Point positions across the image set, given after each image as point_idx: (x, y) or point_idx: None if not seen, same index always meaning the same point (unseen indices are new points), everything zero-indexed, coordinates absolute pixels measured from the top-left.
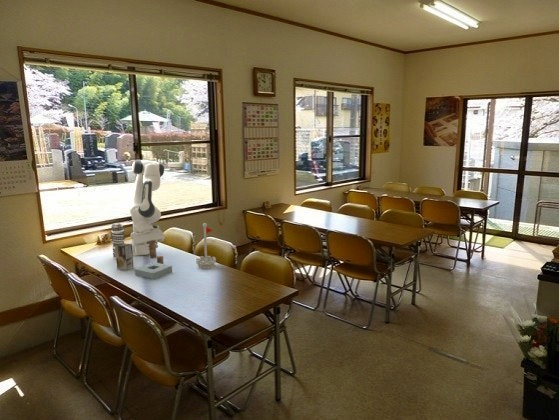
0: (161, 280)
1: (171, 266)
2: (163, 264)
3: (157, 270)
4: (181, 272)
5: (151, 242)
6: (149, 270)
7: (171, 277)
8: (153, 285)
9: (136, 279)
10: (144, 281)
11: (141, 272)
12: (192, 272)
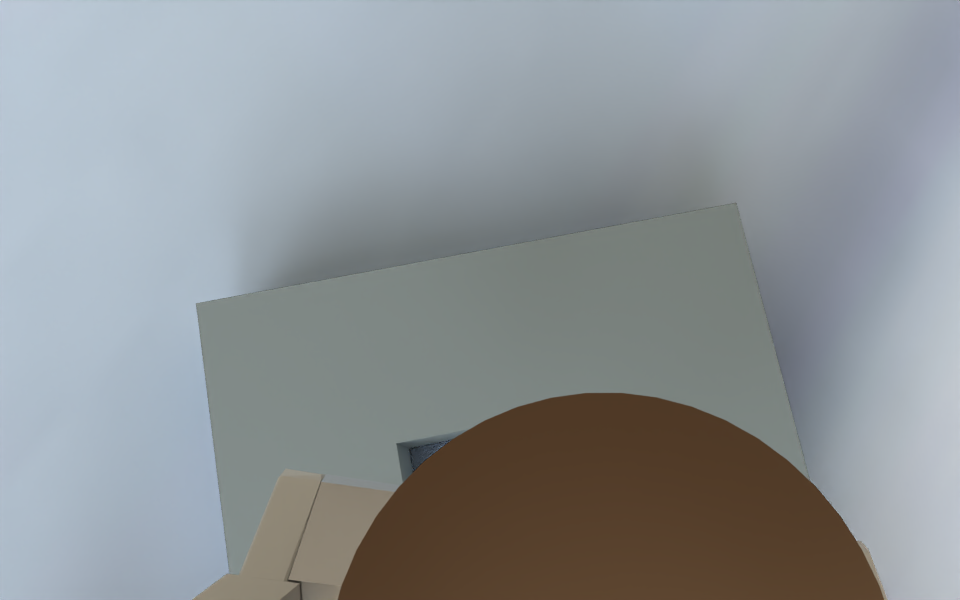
0: (637, 98)
1: (208, 304)
2: (247, 528)
3: (584, 276)
4: (163, 157)
5: (778, 470)
6: None
7: (439, 87)
8: (851, 12)
9: (925, 486)
10: (868, 279)
11: None
12: (52, 13)
